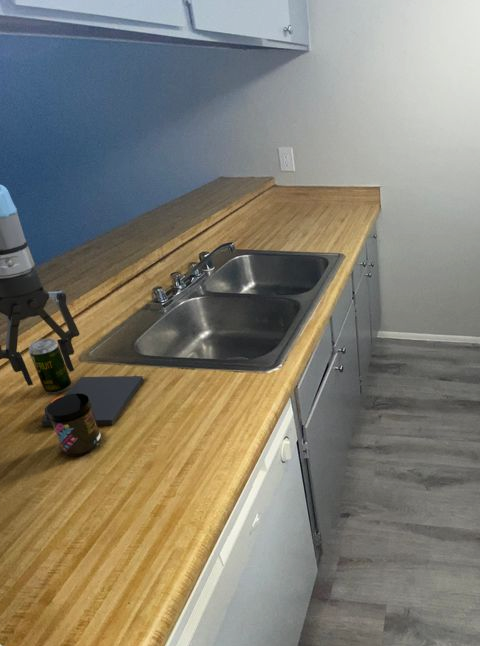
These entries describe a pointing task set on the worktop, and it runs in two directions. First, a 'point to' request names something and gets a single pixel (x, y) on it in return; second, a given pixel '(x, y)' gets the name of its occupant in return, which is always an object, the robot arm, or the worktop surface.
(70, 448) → the supplement container
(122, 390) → the kitchen scale
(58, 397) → the button
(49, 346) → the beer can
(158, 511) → the worktop surface
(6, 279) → the robot arm
